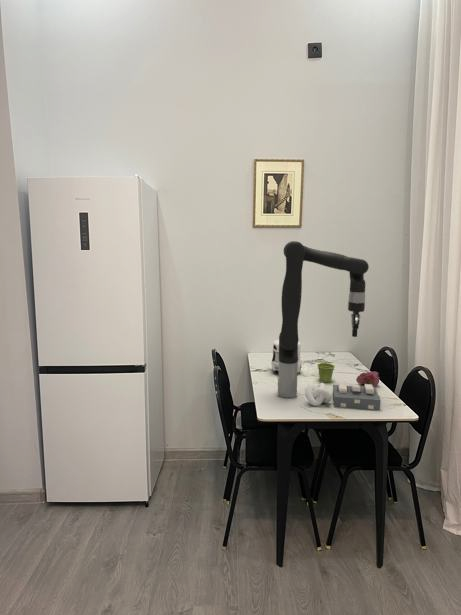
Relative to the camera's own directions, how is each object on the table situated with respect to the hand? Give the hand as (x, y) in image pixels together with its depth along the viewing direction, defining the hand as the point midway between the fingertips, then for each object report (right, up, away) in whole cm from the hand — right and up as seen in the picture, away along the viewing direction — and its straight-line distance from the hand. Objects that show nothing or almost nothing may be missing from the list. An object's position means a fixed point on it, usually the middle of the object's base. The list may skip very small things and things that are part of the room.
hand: (354, 336), depth 194 cm
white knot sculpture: (-20, -31, -5) cm, 37 cm away
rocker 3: (+5, -24, -6) cm, 25 cm away
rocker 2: (-1, -24, -5) cm, 24 cm away
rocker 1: (-7, -24, -4) cm, 25 cm away
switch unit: (-1, -31, -4) cm, 31 cm away
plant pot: (-8, -26, +25) cm, 37 cm away
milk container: (-27, -24, +40) cm, 54 cm away
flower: (+12, -28, +17) cm, 35 cm away
